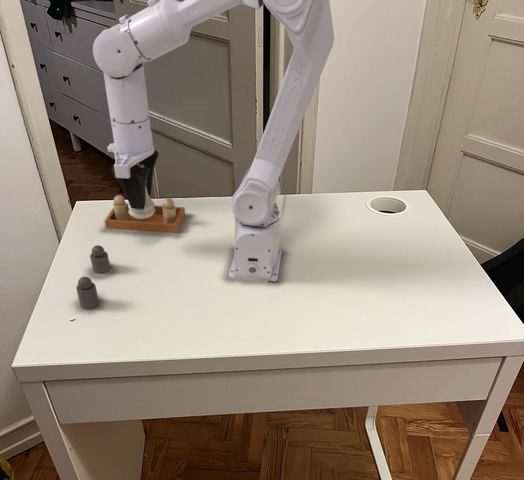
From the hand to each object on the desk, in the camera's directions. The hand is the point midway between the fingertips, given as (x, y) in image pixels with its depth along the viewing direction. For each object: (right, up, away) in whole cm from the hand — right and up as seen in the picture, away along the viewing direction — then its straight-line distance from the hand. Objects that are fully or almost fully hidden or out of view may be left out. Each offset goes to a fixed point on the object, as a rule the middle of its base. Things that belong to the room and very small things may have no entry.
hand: (141, 202), depth 93 cm
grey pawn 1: (-6, -17, -6) cm, 20 cm away
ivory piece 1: (-6, 0, +13) cm, 14 cm away
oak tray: (-2, -1, +13) cm, 13 cm away
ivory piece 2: (+3, -1, +12) cm, 13 cm away
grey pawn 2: (-7, -11, 0) cm, 13 cm away
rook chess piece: (0, -2, +1) cm, 2 cm away
